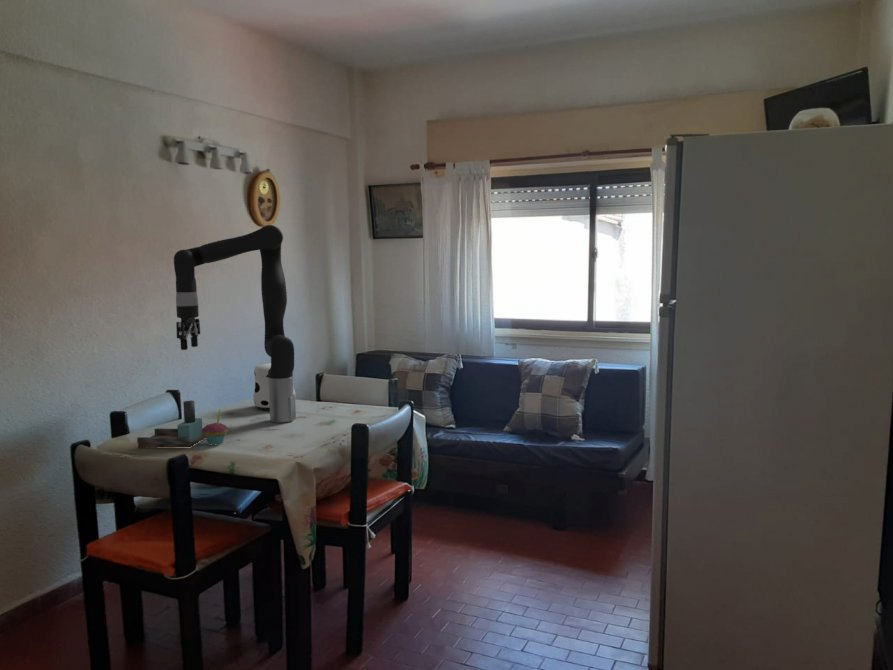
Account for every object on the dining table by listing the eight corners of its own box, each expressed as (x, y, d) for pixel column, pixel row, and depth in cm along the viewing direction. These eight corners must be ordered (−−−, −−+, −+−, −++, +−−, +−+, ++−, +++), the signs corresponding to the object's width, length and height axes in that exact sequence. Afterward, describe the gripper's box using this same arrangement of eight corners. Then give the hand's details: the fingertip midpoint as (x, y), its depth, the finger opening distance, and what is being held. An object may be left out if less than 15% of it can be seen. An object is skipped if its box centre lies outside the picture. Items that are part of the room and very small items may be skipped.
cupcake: (230, 439, 230) (228, 406, 229) (226, 446, 222) (224, 411, 220) (204, 441, 229) (202, 407, 227) (199, 447, 220) (198, 412, 219)
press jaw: (202, 435, 230) (200, 398, 229) (190, 442, 220) (187, 404, 219) (191, 434, 231) (189, 398, 229) (178, 442, 221) (176, 404, 219)
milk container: (291, 412, 271) (289, 368, 269) (248, 412, 271) (246, 369, 269) (299, 402, 288) (298, 362, 286) (260, 403, 288) (258, 362, 286)
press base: (206, 438, 232) (205, 428, 231) (190, 448, 219) (189, 438, 219) (156, 438, 233) (155, 428, 233) (137, 448, 220) (137, 438, 220)
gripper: (188, 305, 234) (190, 350, 236) (205, 303, 249) (207, 345, 250) (167, 305, 235) (170, 350, 237) (186, 303, 249) (188, 345, 251)
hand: (189, 348), depth 244 cm, fingers open, 8 cm apart
